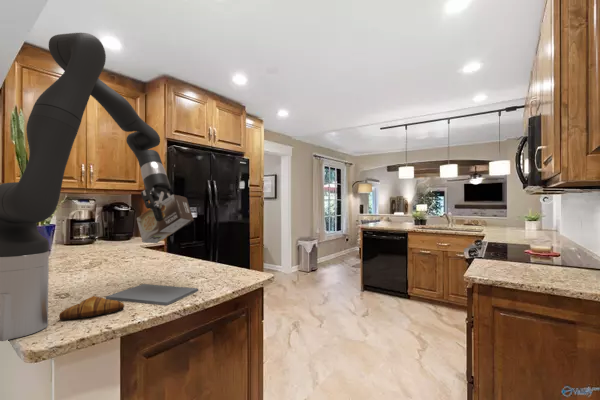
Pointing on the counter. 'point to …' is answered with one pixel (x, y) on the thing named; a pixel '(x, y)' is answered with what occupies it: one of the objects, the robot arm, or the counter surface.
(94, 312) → the croissant
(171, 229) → the coffee box
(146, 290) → the mat
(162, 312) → the counter surface
